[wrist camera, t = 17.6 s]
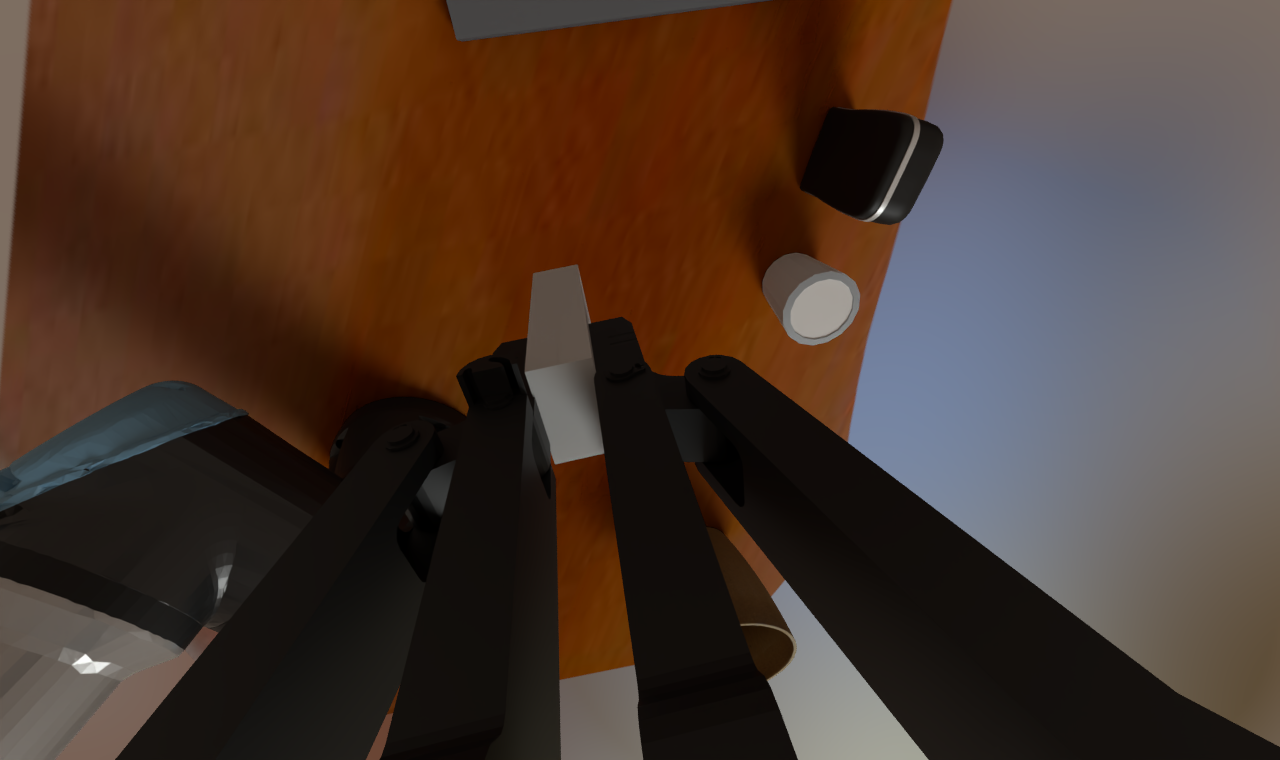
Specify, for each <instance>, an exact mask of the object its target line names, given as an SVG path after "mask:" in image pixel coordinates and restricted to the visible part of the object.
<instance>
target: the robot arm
mask: <svg viewBox="0 0 1280 760" xmlns="http://www.w3.org/2000/svg"><path fill="white" fill-rule="evenodd" d="M456 377H457V379H458V382H459V384H460V386H461V389H462V391H463V394H464V396H465V398H466V401H467V403H468V405H469V409H468V413H467V417H465V416H463V415H462V414H460V413H459V412H457V411H455V410H454V409H452V408H450V407H448V406H445V405H443V404H440V403H437V402H434V401H431V400H426V399H421V398H413V397H395V398H387V399H382V400H378V401H375V402H372V403H370V404H367V405H365V406H363V407H361V408H360V409H358V410H357V411H355V412H354V413H353V414H352V415H351V416H350V417H349V418H348V419H347V420H346V421H345V423H344V424H343V426H342V427H341V429H340V431H339V432H338V434H337V435H336V437H335V439H334V441H333V444H332V447H331V451H330V460H329V469H327V468H326V467H324V466H323V465H321V464H320V463H318V462H317V461H315V460H314V459H312V458H311V457H309V456H307V455H306V454H304V453H303V452H301V451H300V450H298V449H297V448H295V447H294V446H292V445H291V444H289V443H288V442H286V441H285V440H283V439H282V438H280V437H279V436H277V435H276V434H274V433H273V432H272V431H270V430H269V429H267V428H266V427H264V426H263V425H261V424H260V423H258V422H257V421H255V420H254V419H252V418H251V417H249V416H248V414H249V413H248V412H246V411H245V410H243V409H236V408H235V407H233V406H231V405H229V404H228V403H226V402H224V401H222V400H221V399H219V398H217V397H215V396H214V395H212V394H210V393H209V392H207V391H205V390H204V389H202V388H200V387H199V386H197V385H194V384H191V383H188V382H184V381H164V382H158V383H154V384H151V385H149V386H146V387H144V388H142V389H140V390H137V391H135V392H133V393H131V394H129V395H127V396H126V397H124V398H122V399H120V400H118V401H116V402H114V403H112V404H110V405H109V406H107V407H105V408H103V409H101V410H99V411H98V412H96V413H94V414H92V415H90V416H89V417H87V418H85V419H83V420H82V421H80V422H78V423H76V424H75V425H73V426H71V427H70V428H68V429H66V430H64V431H63V432H61V433H59V434H58V435H56V436H54V437H53V438H51V439H49V440H48V441H46V442H44V443H43V444H41V445H39V446H38V447H36V448H34V449H33V450H31V451H30V452H28V453H26V454H25V455H23V456H22V457H20V458H19V459H17V460H15V461H14V462H12V464H11V465H10V466H9V467H7V468H5V469H2V470H1V471H0V760H55V759H56V758H57V757H58V756H59V755H60V753H61V752H62V751H63V750H64V749H65V748H66V746H67V745H68V744H69V743H70V742H71V740H72V739H73V738H74V737H75V736H76V735H77V733H78V732H79V731H80V730H81V729H82V727H83V726H84V725H85V724H86V723H87V722H88V720H89V719H90V718H91V717H92V716H93V715H94V713H95V712H96V711H97V710H98V709H99V707H100V706H101V705H102V704H103V703H104V701H105V700H106V699H107V698H108V697H109V695H110V694H111V693H112V692H113V691H114V690H115V689H116V687H117V686H118V685H119V684H120V683H121V682H122V681H123V680H125V679H126V678H128V677H130V676H131V675H133V674H135V673H137V672H140V671H142V670H145V669H147V668H150V667H153V666H155V665H158V664H161V663H163V662H166V661H169V660H171V659H174V658H176V657H179V655H180V654H181V653H182V652H183V651H184V650H185V649H186V647H187V646H188V645H189V644H190V642H191V641H192V640H193V639H194V637H195V636H196V635H197V634H198V632H199V631H200V630H201V629H202V627H203V626H204V627H207V628H209V629H211V630H214V631H216V632H219V633H218V634H217V635H216V637H215V638H214V639H213V640H212V642H211V643H210V644H209V645H208V647H207V648H206V649H205V650H204V651H203V653H202V654H201V655H200V656H199V658H198V659H197V660H196V661H195V663H194V664H193V665H192V666H191V667H190V669H189V670H188V671H187V672H186V674H185V675H184V676H183V677H182V678H181V680H180V681H179V682H178V683H177V685H176V686H175V687H174V688H173V689H172V691H171V692H170V693H169V694H168V696H167V697H166V698H165V699H164V700H163V702H162V703H161V704H160V705H159V707H158V708H157V709H156V710H155V712H154V713H153V714H152V715H151V717H150V718H149V719H148V720H147V721H146V723H145V724H144V725H143V726H142V727H141V729H140V730H139V731H138V732H137V734H136V735H135V736H134V737H133V739H132V740H131V741H130V742H129V743H128V745H127V746H126V747H125V748H124V750H123V751H122V752H121V753H120V755H119V756H118V757H117V758H116V759H115V760H366V758H367V756H368V754H369V752H370V749H371V747H372V745H373V742H374V741H375V738H376V736H377V734H378V732H379V730H380V727H381V725H382V723H383V721H384V719H385V716H386V714H387V712H388V710H389V708H390V706H391V703H392V701H393V699H394V697H395V695H396V692H397V690H398V688H399V686H400V688H399V692H398V696H397V700H396V704H395V708H394V712H393V716H392V721H391V725H390V729H389V733H388V737H387V741H386V745H385V747H384V750H383V753H382V756H381V758H380V760H561V746H560V745H561V744H560V693H559V636H558V582H557V528H556V478H555V475H554V472H553V469H552V466H551V463H550V451H551V454H552V457H553V460H554V463H555V464H559V463H563V462H568V461H572V460H577V459H581V458H586V457H590V456H595V455H599V454H604V455H605V462H606V468H607V475H608V482H609V489H610V496H611V503H612V510H613V517H614V524H615V531H616V538H617V545H618V552H619V559H620V566H621V573H622V580H623V587H624V594H625V601H626V608H627V614H628V621H629V628H630V635H631V642H632V649H633V656H634V663H635V670H636V677H637V684H638V693H639V702H638V719H639V729H640V737H641V745H642V753H643V760H798V759H797V756H796V753H795V751H794V748H793V745H792V742H791V740H790V737H789V734H788V731H787V729H786V726H785V724H784V721H783V718H782V715H781V713H780V710H779V707H778V705H777V702H776V700H775V697H774V695H773V692H772V690H771V687H770V685H769V683H768V682H767V680H766V678H765V676H764V675H763V674H762V673H761V672H760V671H759V670H758V669H757V667H756V666H755V664H754V661H753V659H752V656H751V653H750V651H749V648H748V645H747V642H746V639H745V636H744V634H743V631H742V628H741V625H740V622H739V619H738V616H737V614H736V611H735V608H734V605H733V602H732V599H731V597H730V594H729V591H728V588H727V585H726V582H725V579H724V577H723V574H722V571H721V568H720V565H719V562H718V559H717V557H716V554H715V551H714V548H713V545H712V542H711V540H710V537H709V534H708V531H707V528H706V525H705V522H704V520H703V517H702V514H701V511H700V508H699V505H698V502H697V500H696V497H695V494H694V491H693V488H692V485H691V482H690V480H689V477H688V474H687V471H686V468H685V465H684V463H683V462H695V465H696V467H697V469H698V471H699V472H700V473H701V475H702V476H703V477H704V478H705V480H706V481H707V482H708V484H709V485H710V486H711V487H712V489H713V490H714V491H715V492H716V494H717V495H718V496H719V497H720V499H721V500H722V501H723V502H724V504H725V505H726V506H727V507H728V509H729V510H730V511H731V512H732V514H733V515H734V516H735V517H736V519H737V520H738V521H739V522H740V524H741V525H742V526H743V527H744V529H745V530H746V531H747V532H748V534H749V535H750V536H751V537H752V539H753V540H754V541H755V542H756V544H757V545H758V546H759V547H760V549H761V550H762V551H763V553H764V554H765V555H766V556H767V558H768V559H769V560H770V561H771V563H772V564H773V565H774V566H775V568H776V569H777V570H778V571H779V573H780V574H781V575H782V576H783V578H784V579H785V580H786V581H787V583H788V584H789V585H790V586H791V588H792V589H793V590H794V591H795V593H796V594H797V595H798V596H799V598H800V599H801V600H802V601H803V602H804V604H805V605H806V606H807V608H808V609H809V610H810V611H811V613H812V614H813V615H814V616H815V618H816V619H817V620H818V621H819V623H820V624H821V625H822V626H823V628H824V629H825V630H826V632H827V633H828V634H829V635H830V637H831V638H832V639H833V640H834V641H835V642H836V644H837V645H838V647H839V648H840V649H841V650H842V651H843V653H844V654H845V655H846V657H847V658H848V659H849V660H850V662H851V663H852V664H853V665H854V667H855V668H856V669H857V670H858V672H859V673H860V674H861V675H862V677H863V678H864V679H865V680H866V682H867V683H868V684H869V685H870V687H871V688H872V689H873V690H874V692H875V693H876V694H877V695H878V697H879V698H880V699H881V700H882V702H883V703H884V704H885V705H886V707H887V708H888V709H889V711H890V712H891V713H892V714H893V716H894V717H895V718H896V719H897V721H898V722H899V723H900V724H901V725H902V727H903V728H904V729H905V730H906V732H907V733H908V734H909V736H910V737H911V738H912V739H913V741H914V742H915V743H916V744H917V746H918V747H919V748H920V749H921V751H922V752H923V753H924V754H925V756H926V757H927V758H928V759H929V760H1280V747H1279V746H1277V745H1274V744H1273V743H1271V742H1269V741H1267V740H1265V739H1264V738H1262V737H1260V736H1258V735H1256V734H1254V733H1252V732H1250V731H1248V730H1246V729H1245V728H1243V727H1241V726H1239V725H1237V724H1235V723H1233V722H1231V721H1229V720H1227V719H1226V718H1224V717H1222V716H1220V715H1218V714H1216V713H1214V712H1212V711H1210V710H1208V709H1206V708H1205V707H1203V706H1201V705H1199V704H1197V703H1195V702H1193V701H1191V700H1189V699H1188V698H1186V697H1184V696H1182V695H1180V694H1178V693H1177V692H1175V691H1174V690H1173V689H1171V688H1170V687H1169V686H1167V685H1166V684H1165V683H1163V682H1162V681H1161V680H1159V679H1158V678H1156V677H1155V676H1154V675H1153V674H1152V673H1150V672H1149V671H1148V670H1146V669H1145V668H1144V667H1142V666H1141V665H1140V664H1138V663H1137V662H1136V661H1134V660H1133V659H1132V658H1130V657H1129V656H1128V655H1127V654H1125V653H1124V652H1123V651H1121V650H1120V649H1119V648H1117V647H1116V646H1115V645H1113V644H1112V643H1111V642H1109V641H1108V640H1107V639H1105V638H1104V637H1103V636H1101V635H1100V634H1099V633H1097V632H1096V631H1095V630H1094V629H1092V628H1091V627H1090V626H1088V625H1087V624H1086V623H1084V622H1083V621H1082V620H1080V619H1079V618H1078V617H1077V616H1075V615H1074V614H1073V613H1071V612H1070V611H1069V610H1067V609H1066V608H1065V607H1063V606H1062V605H1061V604H1059V603H1058V602H1057V601H1055V600H1054V599H1053V598H1052V597H1050V596H1049V595H1048V594H1046V593H1045V592H1043V591H1042V590H1041V589H1040V588H1038V587H1037V586H1036V585H1034V584H1033V583H1032V582H1030V581H1029V580H1028V579H1026V578H1025V577H1024V576H1023V575H1021V574H1020V573H1019V572H1017V571H1016V570H1015V569H1013V568H1012V567H1011V566H1009V565H1008V564H1007V563H1005V562H1004V561H1003V560H1002V559H1000V558H999V557H998V556H996V555H995V554H994V553H992V552H991V551H990V550H988V549H987V548H986V547H984V546H983V545H982V544H980V543H979V542H978V541H977V540H975V539H974V538H973V537H971V536H970V535H969V534H967V533H966V532H965V531H963V530H962V529H961V528H959V527H958V526H957V525H955V524H954V523H953V522H952V521H950V520H949V519H948V518H946V517H945V516H944V515H942V514H941V513H940V512H938V511H937V510H935V509H934V508H933V507H932V506H930V505H929V504H928V503H926V502H925V501H924V500H923V499H921V498H920V497H919V496H917V495H916V494H915V493H913V492H912V491H911V490H909V489H908V488H907V487H905V486H904V485H903V484H902V483H900V482H899V481H898V480H896V479H895V478H894V477H892V476H891V475H890V474H888V473H887V472H886V471H884V470H883V469H882V468H880V467H879V466H878V465H877V464H875V463H874V462H873V461H871V460H870V459H869V458H867V457H866V456H865V455H863V454H862V453H861V452H859V451H858V450H857V449H855V448H854V447H853V446H852V445H850V444H849V443H848V442H846V441H845V440H844V439H842V438H841V437H840V436H838V435H837V434H836V433H834V432H833V431H832V430H830V429H829V428H828V427H827V426H825V425H824V424H823V423H821V422H820V421H819V420H817V419H816V418H815V417H813V416H812V415H811V414H809V413H808V412H807V411H805V410H804V409H803V408H802V407H800V406H799V405H798V404H796V403H795V402H794V401H792V400H791V399H790V398H788V397H787V396H786V395H784V394H783V393H782V392H780V391H779V390H778V389H777V388H775V387H774V386H773V385H771V384H770V383H769V382H767V381H766V380H765V379H763V378H762V377H761V376H759V375H758V374H757V373H755V372H754V371H753V370H752V369H750V368H749V367H748V366H746V365H745V364H744V363H742V362H741V361H739V360H737V359H735V358H733V357H729V356H724V355H709V356H706V357H702V358H699V359H697V360H695V361H693V362H691V363H690V364H689V365H688V366H687V367H686V368H685V373H684V376H665V375H660V374H657V373H654V372H652V371H651V368H650V367H649V366H648V364H647V363H646V362H645V361H644V358H643V355H642V352H641V350H640V347H639V344H638V341H637V338H636V335H635V333H634V329H633V326H632V323H631V322H629V321H628V320H626V319H624V318H623V317H619V318H614V319H609V320H604V321H600V322H595V323H591V322H590V317H589V313H588V308H587V304H586V300H585V295H584V291H583V286H582V282H581V278H580V273H579V269H578V265H573V266H568V267H563V268H558V269H553V270H548V271H543V272H538V273H533V282H532V293H531V305H530V316H529V327H528V338H524V339H519V340H515V341H510V342H505V343H502V344H501V345H500V346H499V347H498V348H497V349H496V350H495V352H494V353H493V355H489V356H486V357H483V358H479V359H477V360H475V361H473V362H471V363H469V364H467V365H466V366H465V367H463V368H462V369H461V370H460V371H459V373H458V374H457V376H456Z"/></svg>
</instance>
